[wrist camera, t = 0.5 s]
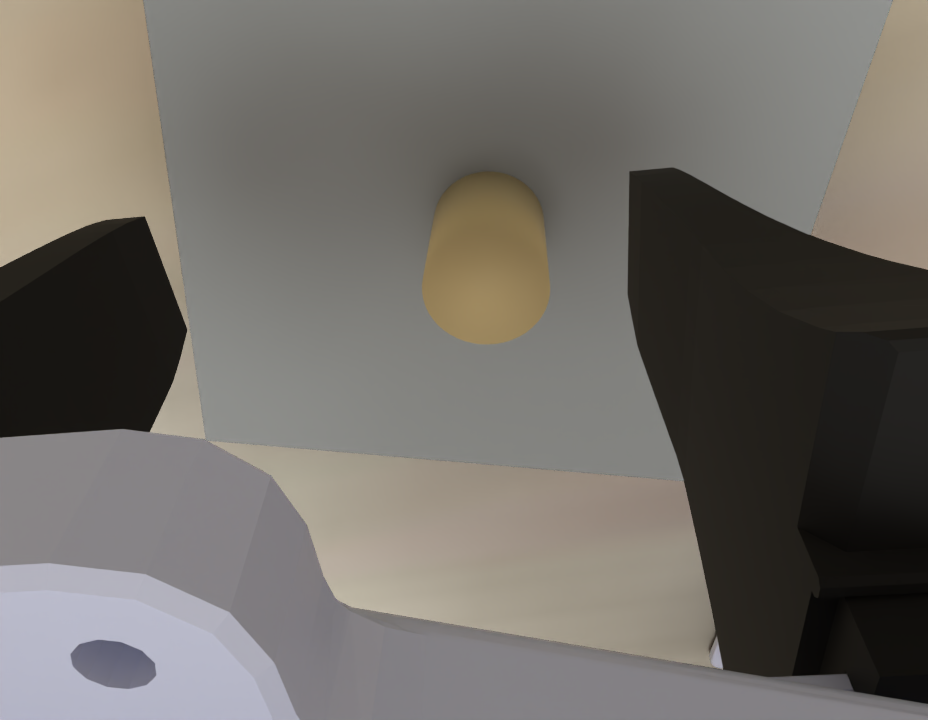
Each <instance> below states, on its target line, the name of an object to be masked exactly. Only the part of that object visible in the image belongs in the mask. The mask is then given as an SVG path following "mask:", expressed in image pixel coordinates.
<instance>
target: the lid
mask: <svg viewBox="0 0 928 720" xmlns="http://www.w3.org/2000/svg"><path fill="white" fill-rule="evenodd" d="M892 1H893V0H143V2H144V9H145V16H146V23H147V30H148V37H149V44H150V51H151V58H152V65H153V72H154V79H155V86H156V93H157V100H158V107H159V114H160V121H161V128H162V135H163V142H164V149H165V156H166V163H167V170H168V178H169V185H170V192H171V199H172V206H173V213H174V220H175V227H176V234H177V241H178V248H179V255H180V262H181V269H182V276H183V283H184V290H185V297H186V304H187V311H188V318H189V325H190V332H191V339H192V346H193V353H194V360H195V367H196V374H197V381H198V388H199V395H200V402H201V409H202V416H203V423H204V430H205V437H206V441H218V442H229V443H241V444H253V445H265V446H276V447H288V448H300V449H312V450H323V451H335V452H347V453H358V454H370V455H382V456H394V457H405V458H417V459H429V460H440V461H452V462H464V463H476V464H487V465H499V466H511V467H523V468H534V469H546V470H558V471H569V472H581V473H593V474H605V475H616V476H628V477H640V478H651V479H663V480H675V481H684V479H683V476H682V473H681V469H680V466H679V463H678V459H677V456H676V453H675V451H674V448H673V445H672V442H671V439H670V437H669V434H668V431H667V428H666V425H665V423H664V420H663V417H662V414H661V411H660V409H659V406H658V403H657V400H656V398H655V395H654V392H653V389H652V386H651V384H650V381H649V378H648V375H647V372H646V369H645V366H644V364H643V361H642V358H641V355H640V352H639V349H638V346H637V341H636V336H635V331H634V327H633V321H632V316H631V311H630V305H629V300H628V294H627V291H628V226H629V171H638V170H649V169H660V168H671V167H674V168H676V169H679V170H682V171H684V172H686V173H688V174H690V175H692V176H693V177H695V178H697V179H699V180H701V181H703V182H704V183H706V184H708V185H710V186H711V187H713V188H715V189H717V190H719V191H720V192H722V193H724V194H726V195H728V196H729V197H731V198H733V199H735V200H737V201H739V202H740V203H742V204H744V205H746V206H748V207H750V208H752V209H754V210H756V211H758V212H760V213H762V214H764V215H766V216H768V217H770V218H772V219H774V220H777V221H779V222H781V223H783V224H786V225H788V226H790V227H792V228H795V229H797V230H799V231H801V232H804V233H806V234H809V235H811V232H812V229H813V226H814V223H815V220H816V218H817V215H818V212H819V209H820V206H821V203H822V201H823V198H824V195H825V192H826V189H827V186H828V183H829V181H830V178H831V175H832V172H833V169H834V166H835V164H836V161H837V158H838V155H839V152H840V149H841V146H842V144H843V141H844V138H845V135H846V132H847V129H848V127H849V124H850V121H851V118H852V115H853V112H854V109H855V107H856V104H857V101H858V98H859V95H860V92H861V90H862V87H863V84H864V81H865V78H866V75H867V73H868V70H869V67H870V64H871V61H872V58H873V55H874V53H875V50H876V47H877V44H878V41H879V38H880V36H881V33H882V30H883V27H884V24H885V21H886V18H887V16H888V13H889V10H890V7H891V4H892Z"/></svg>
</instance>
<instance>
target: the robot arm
mask: <svg viewBox="0 0 928 720" xmlns="http://www.w3.org/2000/svg"><path fill="white" fill-rule="evenodd" d="M627 294H628V300H629V305H630V311H631V316H632V321H633V327H634V331H635V336H636V341H637V346H638V349H639V352H640V355H641V358H642V361H643V364H644V366H645V369H646V372H647V375H648V378H649V381H650V384H651V386H652V389H653V392H654V395H655V398H656V400H657V403H658V406H659V409H660V411H661V414H662V417H663V420H664V423H665V425H666V428H667V431H668V434H669V437H670V439H671V442H672V445H673V448H674V451H675V453H676V456H677V459H678V463H679V466H680V469H681V473H682V476H683V479H684V483H685V487H686V492H687V496H688V501H689V505H690V510H691V514H692V518H693V523H694V527H695V532H696V536H697V541H698V546H699V550H700V555H701V560H702V565H703V569H704V574H705V579H706V584H707V589H708V593H709V598H710V603H711V608H712V613H713V619H714V624H715V629H716V634H717V636H716V639H715V641H714V643H713V646H712V648H711V651H710V653H709V657H710V661H711V664H712V665H713V666H715V667H717V668H723V670H722V669H716V668H710V667H704V666H698V665H692V664H686V663H680V662H674V661H668V660H662V659H656V658H650V657H644V656H638V655H632V654H626V653H620V652H614V651H608V650H602V649H596V648H591V647H585V646H579V645H573V644H567V643H561V642H555V641H549V640H543V639H537V638H531V637H525V636H519V635H513V634H507V633H501V632H495V631H489V630H483V629H477V628H471V627H465V626H459V625H453V624H447V623H441V622H435V621H429V620H423V619H418V618H412V617H406V616H400V615H394V614H388V613H382V612H376V611H370V610H364V609H358V608H352V607H350V606H348V605H346V604H344V603H342V602H340V601H338V600H337V599H336V598H335V597H334V595H333V593H332V591H331V590H330V588H329V586H328V584H327V582H326V580H325V578H324V576H323V573H322V570H321V567H320V564H319V561H318V558H317V555H316V552H315V548H314V545H313V542H312V539H311V536H310V533H309V530H308V527H307V524H306V523H305V522H304V520H303V519H302V518H301V516H300V515H299V513H298V512H297V511H296V509H295V508H294V506H293V505H292V504H291V502H290V501H289V500H288V498H287V497H286V495H285V494H284V493H283V491H282V490H281V489H280V487H279V486H278V484H277V483H276V482H275V480H274V479H273V478H272V476H271V475H269V474H267V473H266V472H264V471H262V470H260V469H258V468H256V467H254V466H253V465H251V464H249V463H247V462H245V461H243V460H241V459H240V458H238V457H236V456H234V455H232V454H230V453H228V452H227V451H225V450H223V449H221V448H219V447H217V446H215V445H213V444H212V443H210V442H208V441H206V440H204V439H198V438H190V437H182V436H174V435H166V434H158V433H150V430H151V428H152V426H153V424H154V422H155V419H156V417H157V415H158V413H159V411H160V409H161V407H162V405H163V402H164V400H165V398H166V396H167V394H168V392H169V389H170V387H171V385H172V383H173V380H174V377H175V373H176V370H177V367H178V364H179V360H180V357H181V353H182V349H183V345H184V341H185V337H186V333H187V328H186V325H185V322H184V320H183V317H182V314H181V312H180V309H179V306H178V304H177V301H176V298H175V296H174V293H173V290H172V288H171V285H170V282H169V280H168V277H167V274H166V272H165V269H164V266H163V264H162V261H161V258H160V256H159V253H158V250H157V248H156V245H155V242H154V240H153V237H152V234H151V232H150V229H149V226H148V224H147V221H146V218H145V217H134V218H123V219H112V220H105V221H101V222H98V223H94V224H91V225H88V226H86V227H83V228H81V229H78V230H76V231H74V232H71V233H69V234H67V235H65V236H63V237H60V238H58V239H56V240H54V241H52V242H50V243H48V244H46V245H44V246H42V247H40V248H38V249H36V250H34V251H32V252H30V253H28V254H26V255H24V256H22V257H20V258H18V259H16V260H14V261H12V262H10V263H8V264H6V265H4V266H2V267H0V720H928V270H926V269H922V268H917V267H913V266H909V265H904V264H900V263H896V262H892V261H888V260H884V259H881V258H877V257H873V256H870V255H866V254H863V253H860V252H857V251H854V250H851V249H848V248H845V247H842V246H839V245H836V244H833V243H830V242H827V241H824V240H822V239H819V238H816V237H814V236H811V235H809V234H806V233H804V232H801V231H799V230H797V229H795V228H792V227H790V226H788V225H786V224H783V223H781V222H779V221H777V220H774V219H772V218H770V217H768V216H766V215H764V214H762V213H760V212H758V211H756V210H754V209H752V208H750V207H748V206H746V205H744V204H742V203H740V202H739V201H737V200H735V199H733V198H731V197H729V196H728V195H726V194H724V193H722V192H720V191H719V190H717V189H715V188H713V187H711V186H710V185H708V184H706V183H704V182H703V181H701V180H699V179H697V178H695V177H693V176H692V175H690V174H688V173H686V172H684V171H682V170H679V169H676V168H674V167H671V168H660V169H649V170H638V171H629V226H628V291H627Z"/></svg>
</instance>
